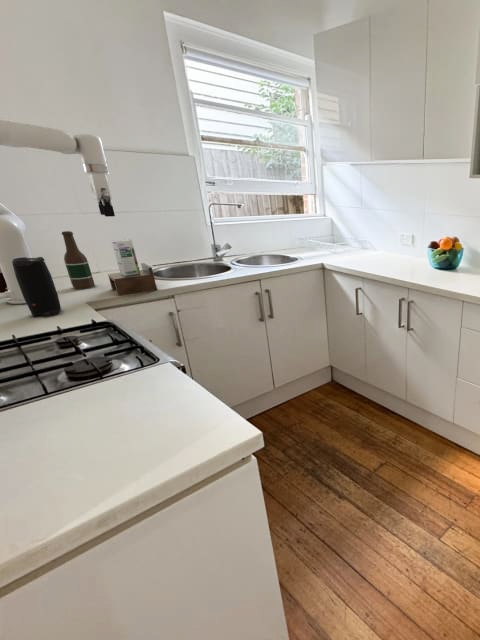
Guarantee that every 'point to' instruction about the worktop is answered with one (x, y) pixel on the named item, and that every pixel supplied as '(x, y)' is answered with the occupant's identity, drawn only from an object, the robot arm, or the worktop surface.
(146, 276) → the brown wooden box
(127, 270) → the syrup box
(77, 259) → the beer bottle
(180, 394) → the worktop surface
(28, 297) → the portable speaker
